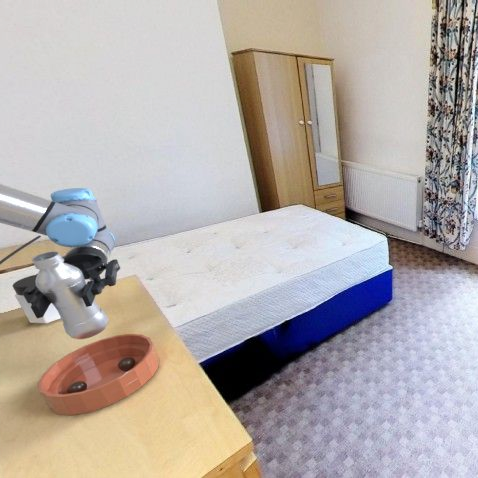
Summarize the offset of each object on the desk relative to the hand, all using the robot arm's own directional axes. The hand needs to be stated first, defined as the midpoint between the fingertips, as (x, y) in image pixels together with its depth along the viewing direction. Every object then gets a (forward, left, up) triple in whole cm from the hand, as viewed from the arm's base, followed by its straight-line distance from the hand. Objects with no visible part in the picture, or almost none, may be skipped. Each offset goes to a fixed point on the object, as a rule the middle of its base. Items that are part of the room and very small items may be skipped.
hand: (62, 306), depth 63 cm
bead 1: (-1, -4, -21) cm, 21 cm away
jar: (-44, -4, -22) cm, 50 cm away
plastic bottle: (-6, +2, -11) cm, 12 cm away
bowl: (-1, +1, -22) cm, 22 cm away
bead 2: (-1, +6, -20) cm, 21 cm away
